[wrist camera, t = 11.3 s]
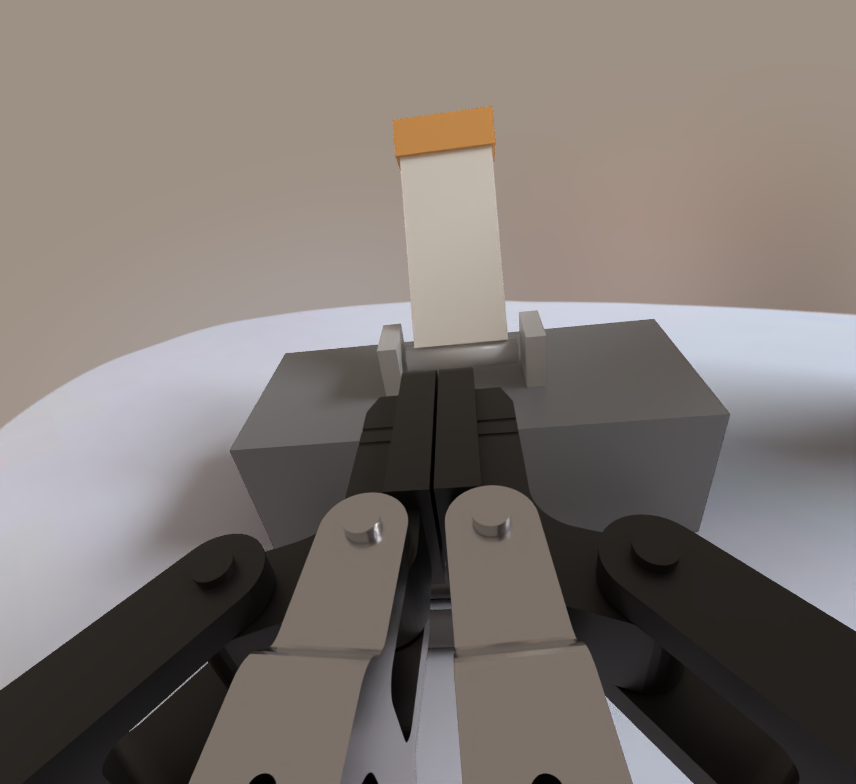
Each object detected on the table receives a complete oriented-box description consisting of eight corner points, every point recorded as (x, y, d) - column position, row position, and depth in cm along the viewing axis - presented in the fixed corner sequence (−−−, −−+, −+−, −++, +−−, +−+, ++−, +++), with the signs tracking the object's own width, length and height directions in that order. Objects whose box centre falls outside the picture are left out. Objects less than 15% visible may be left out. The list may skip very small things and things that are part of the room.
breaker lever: (519, 360, 25) (498, 105, 26) (406, 370, 26) (387, 120, 26) (516, 364, 27) (496, 126, 28) (411, 373, 28) (393, 140, 28)
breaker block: (758, 645, 21) (846, 456, 15) (237, 659, 24) (135, 501, 18) (637, 417, 35) (658, 270, 29) (316, 440, 38) (274, 310, 32)
